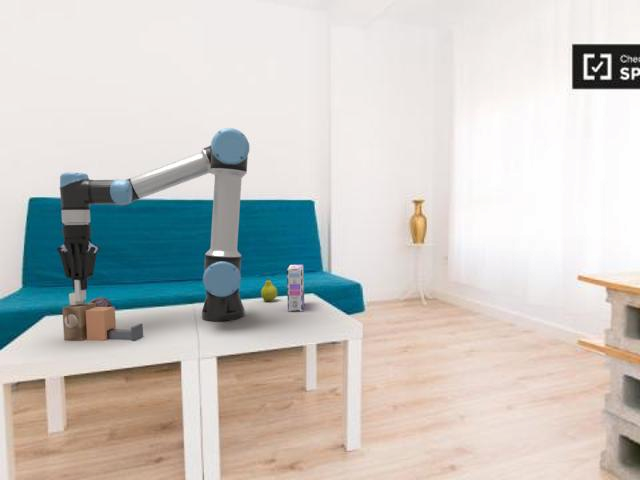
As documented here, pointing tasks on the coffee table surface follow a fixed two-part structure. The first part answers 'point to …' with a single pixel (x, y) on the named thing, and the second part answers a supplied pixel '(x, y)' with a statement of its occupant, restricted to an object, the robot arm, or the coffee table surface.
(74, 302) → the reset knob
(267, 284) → the fruit
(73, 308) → the cabinet
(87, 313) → the block
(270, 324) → the coffee table surface
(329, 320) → the coffee table surface
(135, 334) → the rail
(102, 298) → the rock
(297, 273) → the candy box
